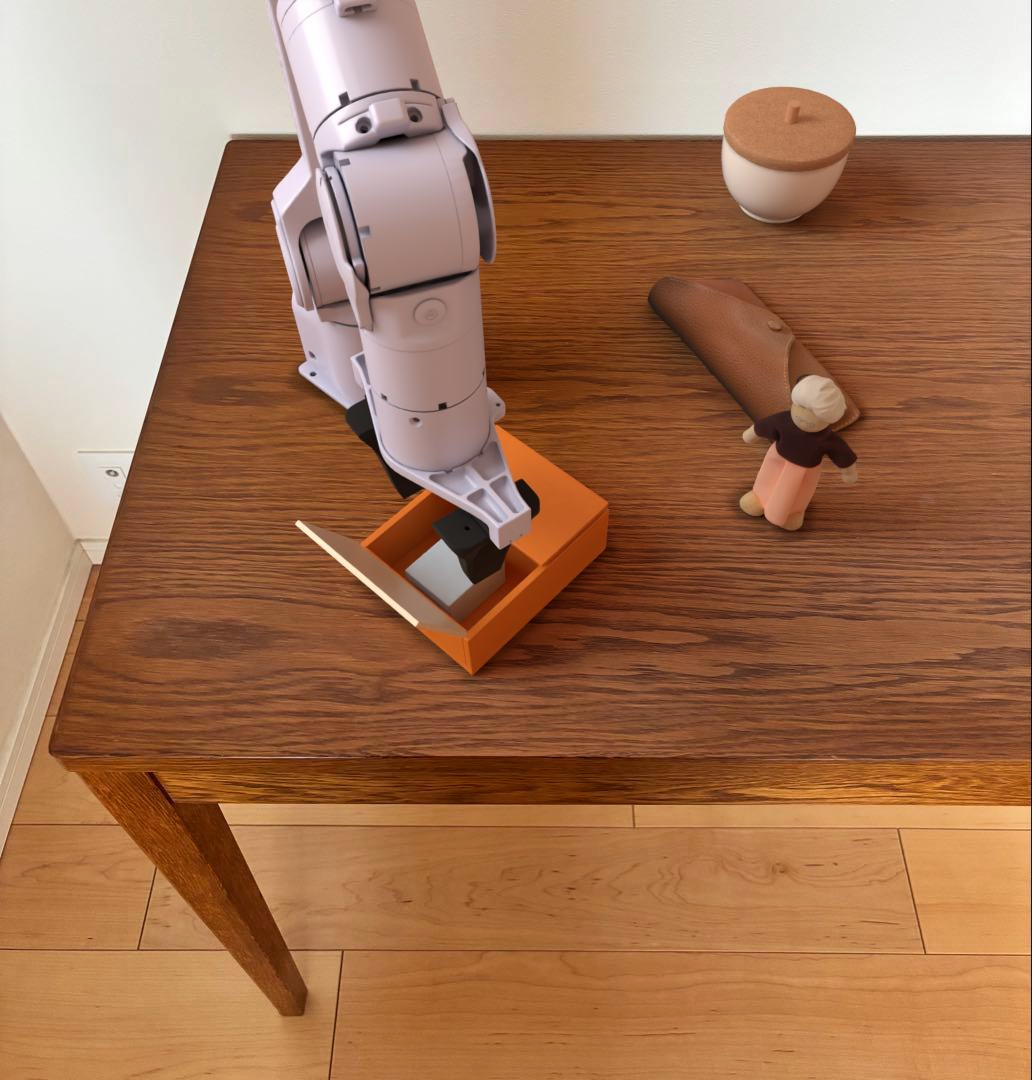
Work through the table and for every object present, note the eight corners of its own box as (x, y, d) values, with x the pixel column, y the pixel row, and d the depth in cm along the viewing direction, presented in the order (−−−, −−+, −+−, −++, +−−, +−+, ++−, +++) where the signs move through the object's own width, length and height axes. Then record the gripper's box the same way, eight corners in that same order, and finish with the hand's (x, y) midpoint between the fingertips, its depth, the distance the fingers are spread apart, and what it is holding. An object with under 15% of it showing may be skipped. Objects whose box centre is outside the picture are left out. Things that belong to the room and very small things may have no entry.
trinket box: (713, 161, 91) (729, 63, 83) (831, 169, 90) (858, 70, 82) (710, 236, 85) (726, 138, 77) (836, 245, 84) (866, 146, 76)
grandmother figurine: (719, 517, 68) (752, 391, 58) (732, 476, 70) (765, 347, 60) (831, 548, 67) (885, 423, 56) (841, 505, 69) (895, 377, 58)
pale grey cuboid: (452, 630, 63) (449, 606, 61) (409, 594, 65) (404, 569, 62) (506, 581, 65) (504, 556, 63) (463, 547, 67) (460, 522, 64)
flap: (468, 633, 57) (464, 638, 57) (355, 540, 61) (352, 544, 61) (419, 621, 52) (415, 627, 52) (298, 519, 56) (294, 524, 56)
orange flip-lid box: (472, 675, 62) (467, 635, 57) (365, 585, 66) (353, 540, 61) (606, 548, 67) (610, 502, 63) (499, 471, 71) (496, 423, 67)
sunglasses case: (872, 413, 73) (855, 374, 67) (795, 475, 74) (772, 442, 68) (730, 271, 82) (705, 227, 76) (664, 328, 83) (635, 289, 78)
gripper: (583, 422, 46) (575, 578, 57) (417, 257, 53) (439, 425, 64) (456, 494, 44) (474, 641, 55) (301, 312, 50) (344, 476, 62)
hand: (448, 529), depth 59 cm, fingers open, 7 cm apart
